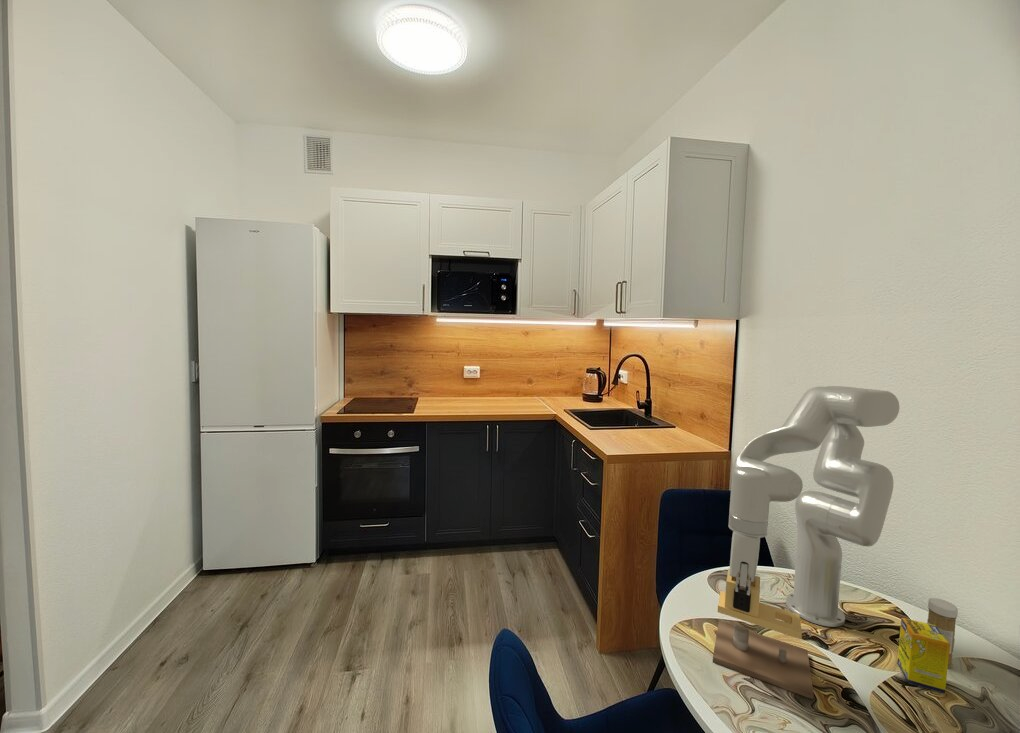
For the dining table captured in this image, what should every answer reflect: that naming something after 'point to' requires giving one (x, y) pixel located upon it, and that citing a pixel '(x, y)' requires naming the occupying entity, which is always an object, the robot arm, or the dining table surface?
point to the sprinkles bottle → (943, 620)
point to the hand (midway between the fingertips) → (742, 600)
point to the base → (763, 658)
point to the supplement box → (923, 655)
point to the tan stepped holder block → (759, 610)
